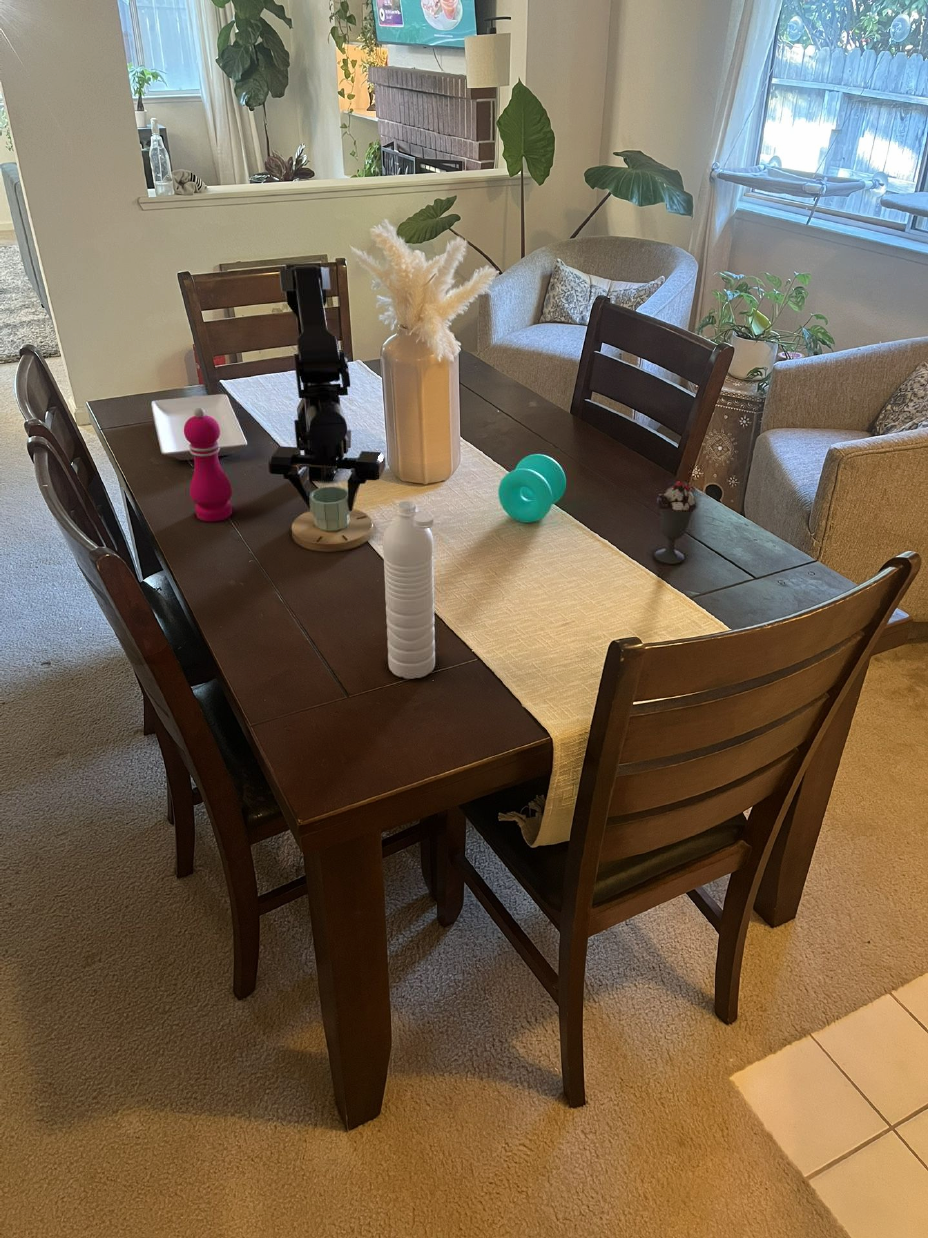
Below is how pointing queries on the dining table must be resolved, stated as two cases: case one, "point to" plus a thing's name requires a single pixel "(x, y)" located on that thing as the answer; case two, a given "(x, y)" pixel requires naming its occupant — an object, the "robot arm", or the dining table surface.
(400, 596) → the water bottle
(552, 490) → the teal yo-yo
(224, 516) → the pepper mill
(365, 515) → the turntable
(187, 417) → the tray
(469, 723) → the dining table surface
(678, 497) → the sundae
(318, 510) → the green cup
